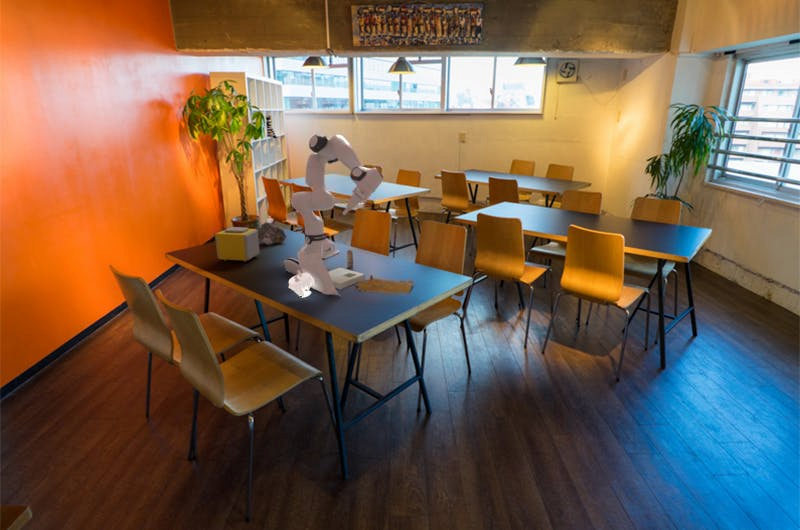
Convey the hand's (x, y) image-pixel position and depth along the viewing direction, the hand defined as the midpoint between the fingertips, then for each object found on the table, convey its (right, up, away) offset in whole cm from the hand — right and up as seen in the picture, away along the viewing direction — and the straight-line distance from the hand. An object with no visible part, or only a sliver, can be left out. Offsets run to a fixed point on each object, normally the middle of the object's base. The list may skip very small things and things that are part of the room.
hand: (343, 214), depth 241 cm
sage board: (-1, -35, -6) cm, 35 cm away
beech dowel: (+2, -28, +14) cm, 32 cm away
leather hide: (+23, -39, -17) cm, 49 cm away
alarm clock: (-65, -24, +29) cm, 75 cm away
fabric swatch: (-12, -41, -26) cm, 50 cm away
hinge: (-25, -32, +4) cm, 41 cm away
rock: (-56, -12, +66) cm, 87 cm away
